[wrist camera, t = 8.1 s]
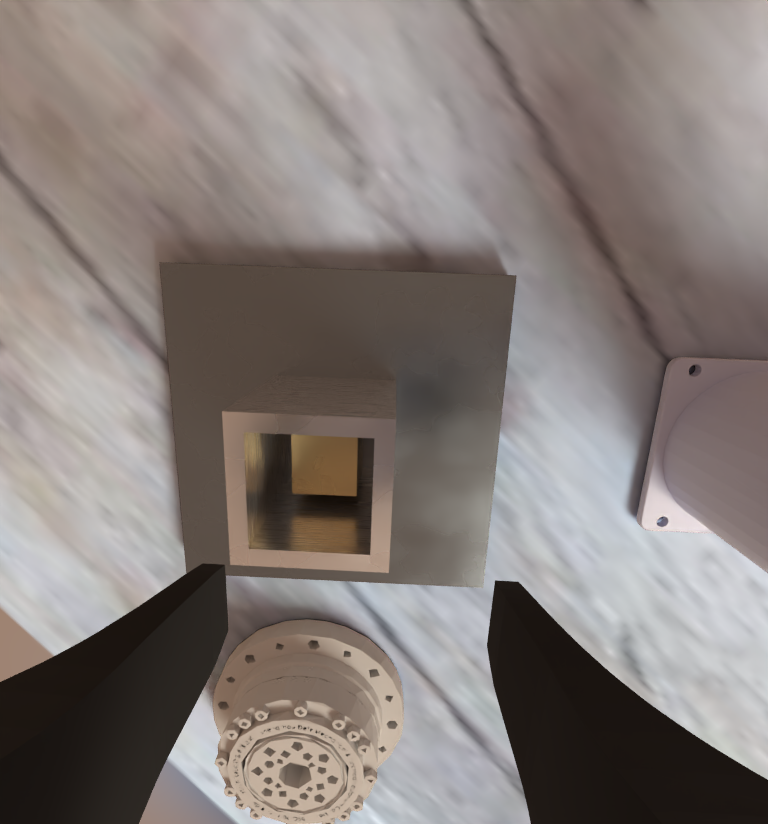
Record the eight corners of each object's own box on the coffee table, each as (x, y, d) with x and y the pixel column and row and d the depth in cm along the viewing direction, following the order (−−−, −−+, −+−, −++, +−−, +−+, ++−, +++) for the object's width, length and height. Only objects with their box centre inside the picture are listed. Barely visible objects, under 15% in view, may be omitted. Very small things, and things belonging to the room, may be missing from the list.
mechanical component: (322, 580, 23) (185, 677, 25) (304, 646, 18) (140, 757, 20) (440, 706, 25) (304, 787, 26) (449, 793, 20) (286, 883, 22)
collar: (396, 380, 19) (396, 419, 13) (390, 491, 20) (388, 572, 14) (276, 375, 19) (222, 411, 13) (278, 486, 20) (230, 564, 14)
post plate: (508, 276, 19) (540, 271, 14) (478, 572, 22) (496, 635, 18) (174, 264, 19) (112, 255, 15) (197, 558, 22) (153, 617, 18)
